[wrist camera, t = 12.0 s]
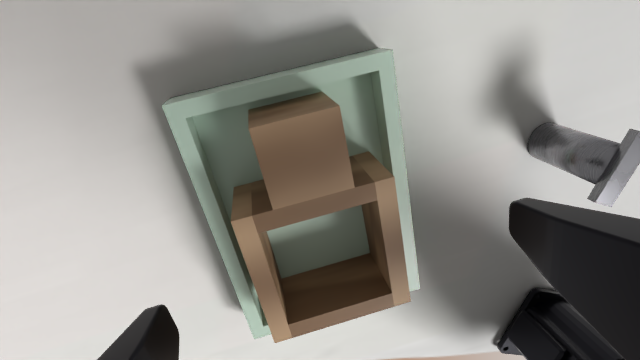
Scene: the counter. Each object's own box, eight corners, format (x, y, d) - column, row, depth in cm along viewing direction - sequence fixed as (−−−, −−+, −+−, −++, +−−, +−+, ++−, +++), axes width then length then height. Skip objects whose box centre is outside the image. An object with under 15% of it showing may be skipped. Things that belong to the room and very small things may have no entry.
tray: (407, 270, 25) (420, 288, 24) (253, 316, 24) (254, 339, 23) (378, 47, 19) (392, 49, 17) (170, 98, 18) (161, 105, 16)
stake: (574, 116, 23) (663, 140, 18) (542, 172, 24) (619, 209, 19) (545, 106, 22) (631, 127, 17) (515, 164, 24) (587, 200, 19)
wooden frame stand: (386, 260, 24) (410, 301, 20) (270, 294, 23) (275, 342, 20) (357, 82, 19) (383, 94, 16) (210, 118, 18) (201, 140, 15)
